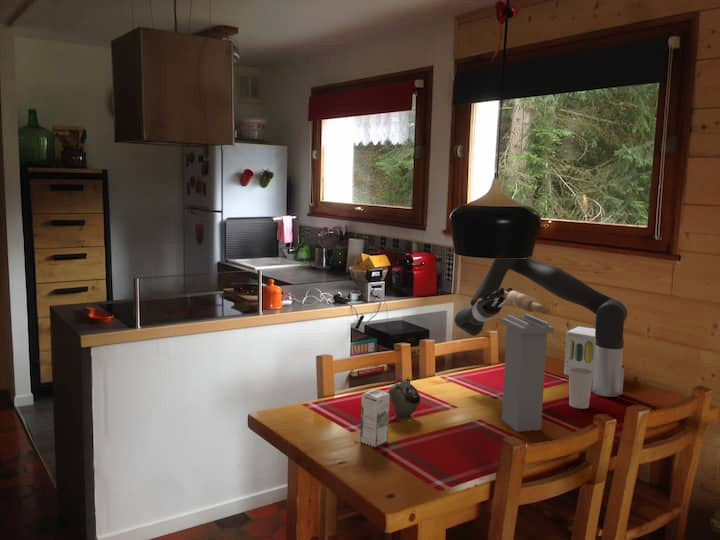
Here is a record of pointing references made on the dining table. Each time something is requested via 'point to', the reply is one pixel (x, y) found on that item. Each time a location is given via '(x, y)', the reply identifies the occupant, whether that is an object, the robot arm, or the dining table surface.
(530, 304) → the rolling pin
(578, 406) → the cup
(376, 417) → the syrup box
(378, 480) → the dining table surface
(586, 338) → the supplement box
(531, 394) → the stand
